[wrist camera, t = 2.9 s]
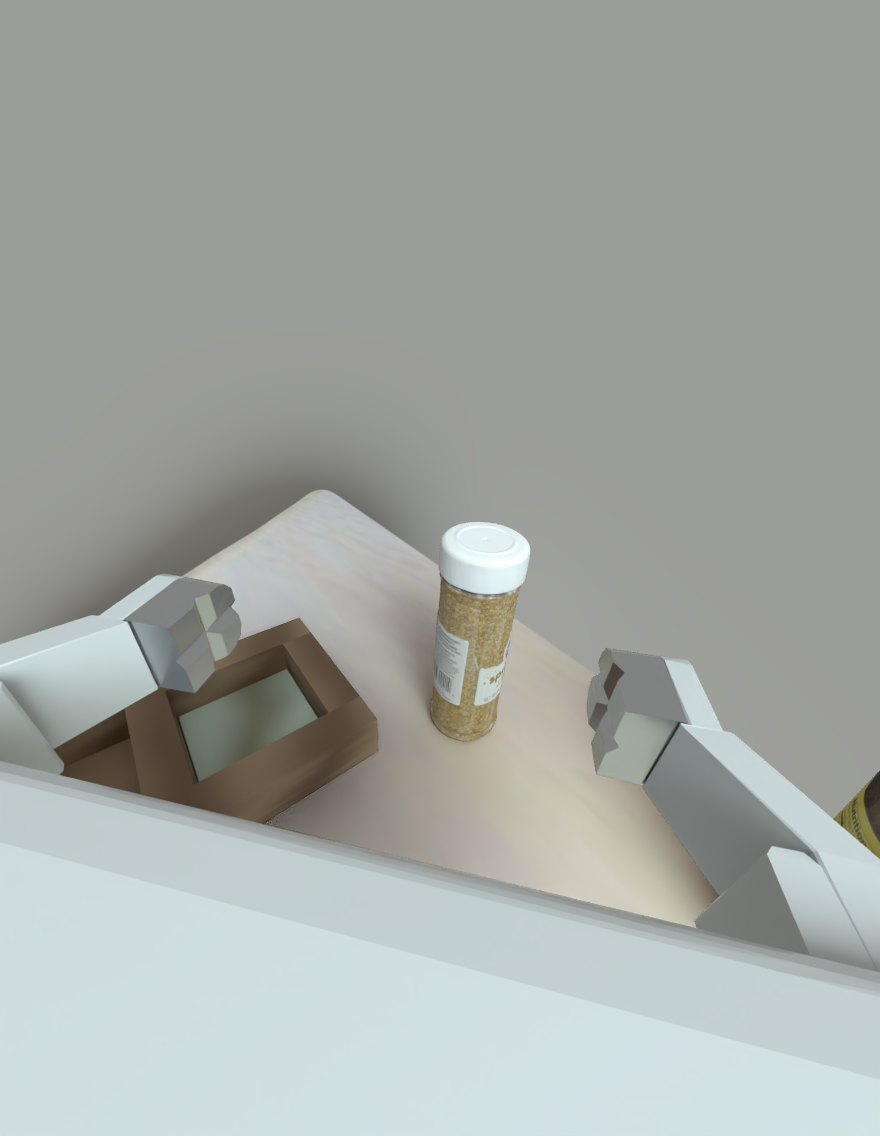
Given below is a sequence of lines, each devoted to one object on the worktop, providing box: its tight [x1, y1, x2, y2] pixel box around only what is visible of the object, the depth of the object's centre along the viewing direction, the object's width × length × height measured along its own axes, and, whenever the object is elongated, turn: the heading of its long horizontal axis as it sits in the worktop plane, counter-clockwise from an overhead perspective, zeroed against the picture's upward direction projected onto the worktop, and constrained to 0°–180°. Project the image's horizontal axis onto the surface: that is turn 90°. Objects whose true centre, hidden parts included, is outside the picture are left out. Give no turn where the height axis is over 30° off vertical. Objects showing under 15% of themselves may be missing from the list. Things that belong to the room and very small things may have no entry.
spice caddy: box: [54, 618, 378, 824], centre depth 22 cm, size 20×11×3 cm, turn 129°
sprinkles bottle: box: [430, 522, 530, 741], centre depth 24 cm, size 5×5×13 cm
